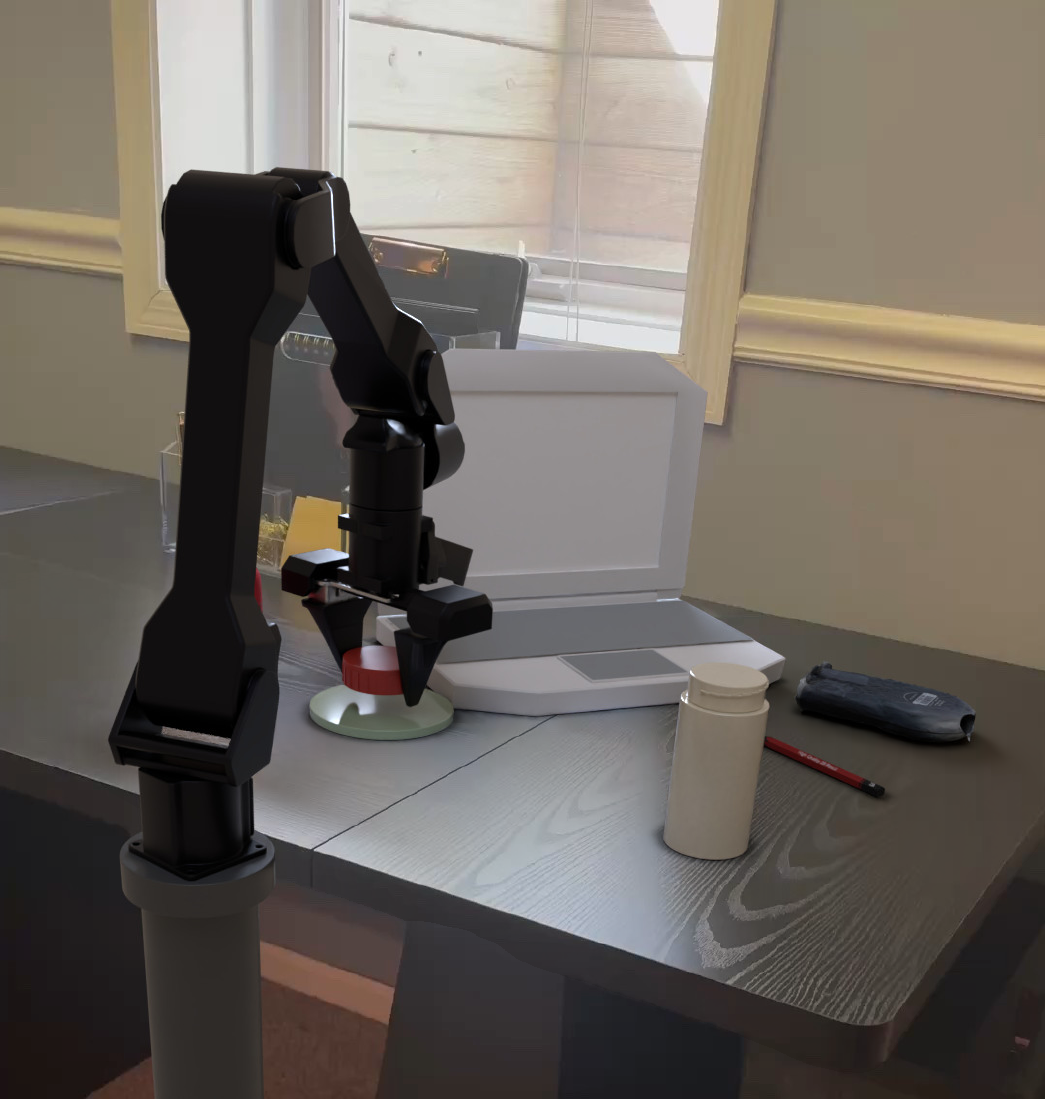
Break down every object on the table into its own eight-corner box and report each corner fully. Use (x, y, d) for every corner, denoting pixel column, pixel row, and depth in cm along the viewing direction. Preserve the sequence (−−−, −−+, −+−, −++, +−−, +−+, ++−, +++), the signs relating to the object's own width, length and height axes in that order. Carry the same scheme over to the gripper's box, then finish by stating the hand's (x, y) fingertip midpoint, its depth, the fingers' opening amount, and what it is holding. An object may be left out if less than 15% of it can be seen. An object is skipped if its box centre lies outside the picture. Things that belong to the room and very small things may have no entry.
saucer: (382, 751, 111) (382, 742, 111) (279, 711, 118) (279, 702, 117) (482, 717, 120) (483, 708, 119) (381, 681, 126) (381, 672, 126)
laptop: (468, 724, 118) (484, 387, 105) (374, 639, 137) (378, 345, 124) (803, 693, 131) (853, 390, 118) (674, 619, 150) (706, 351, 137)
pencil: (756, 739, 120) (757, 728, 119) (883, 797, 110) (885, 785, 110) (748, 741, 119) (750, 730, 119) (876, 799, 110) (878, 787, 109)
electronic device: (787, 733, 125) (960, 749, 118) (791, 670, 123) (967, 682, 116) (820, 719, 133) (984, 733, 126) (824, 659, 131) (990, 670, 124)
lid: (396, 665, 121) (397, 641, 120) (438, 689, 117) (439, 664, 116) (327, 675, 118) (327, 651, 117) (367, 700, 113) (368, 675, 112)
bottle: (718, 868, 96) (743, 695, 91) (646, 840, 100) (666, 672, 94) (763, 843, 101) (790, 676, 95) (693, 817, 104) (715, 654, 98)
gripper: (543, 513, 111) (529, 703, 118) (373, 472, 121) (371, 649, 128) (448, 532, 103) (439, 734, 111) (275, 486, 113) (278, 674, 121)
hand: (382, 694), depth 118 cm, fingers closed on lid, 6 cm apart
